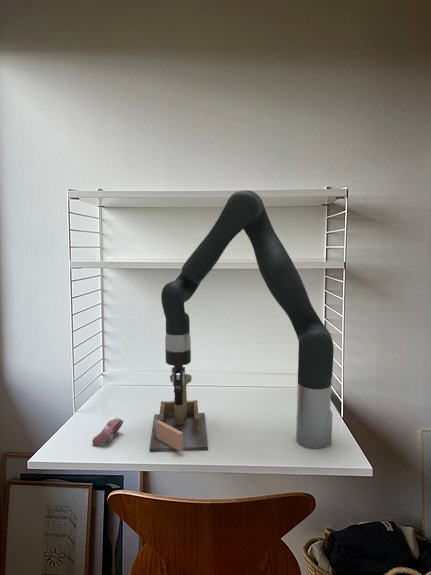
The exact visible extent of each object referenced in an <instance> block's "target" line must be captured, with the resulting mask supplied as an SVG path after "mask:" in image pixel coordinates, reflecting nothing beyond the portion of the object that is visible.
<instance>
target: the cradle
mask: <svg viewBox="0 0 431 575" xmlns="http://www.w3.org/2000/svg"><path fill="white" fill-rule="evenodd" d="M198 404H199V403H198V400H187V415H186V422H185V424H183V425H178V424H176V423H175V416H174V400H170V401H169V400H167V401H165V400H163V401H160V409H159V413H158V414H157V413H156V414H154V416H153V420H152V421H153V422H152V427H151V435H150V436H151V437H150V443H149V453H159V452H161V453H163V452H165V453H166V452H179V451H178V450H176V449H174V448H173V447H171V446H169V445H167V444H166V443H164V442H162V441H160V440H159V439H157V438H154V420H155V419H159V420H160V421H161V422H163V423H165V424H167V425H169V426H171V427H173V428H175V429H177V430H179V431H181V432H183V450H182V451H181V452H186V451H188V452H191V451H193V452H194V451H209V444H208V443H209V442H208V441H209V440H208V431H207V424H206V422H207V421H206V413H205V412H199V405H198Z"/></svg>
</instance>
